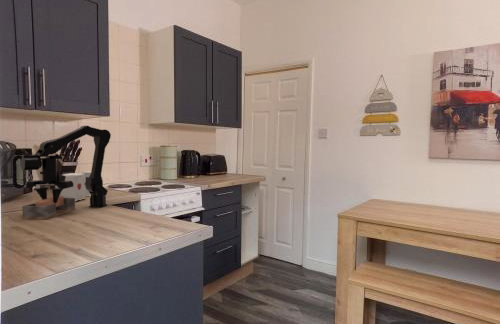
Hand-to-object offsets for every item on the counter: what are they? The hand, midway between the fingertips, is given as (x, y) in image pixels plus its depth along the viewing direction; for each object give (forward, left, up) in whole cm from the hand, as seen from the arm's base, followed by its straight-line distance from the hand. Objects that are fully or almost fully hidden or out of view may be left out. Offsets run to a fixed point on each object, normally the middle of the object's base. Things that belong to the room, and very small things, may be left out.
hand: (50, 202), depth 142 cm
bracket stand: (0, 0, -5) cm, 5 cm away
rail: (0, 0, -2) cm, 2 cm away
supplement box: (+8, -30, -5) cm, 32 cm away
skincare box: (+7, -45, -5) cm, 46 cm away
